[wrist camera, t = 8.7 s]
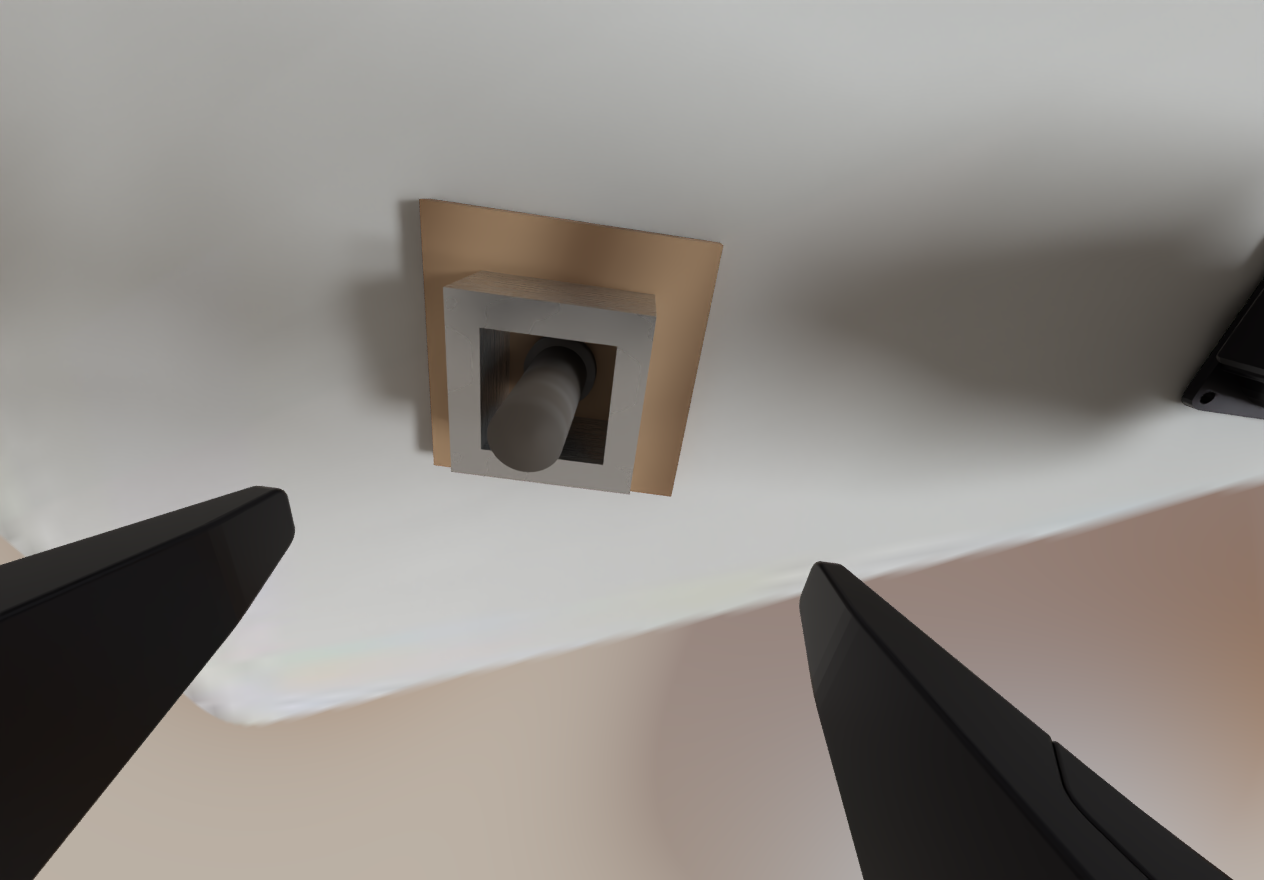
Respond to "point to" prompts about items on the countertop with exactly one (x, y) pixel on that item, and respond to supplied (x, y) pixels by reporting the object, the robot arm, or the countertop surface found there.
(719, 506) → the countertop surface
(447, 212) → the keeper
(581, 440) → the grey square socket
